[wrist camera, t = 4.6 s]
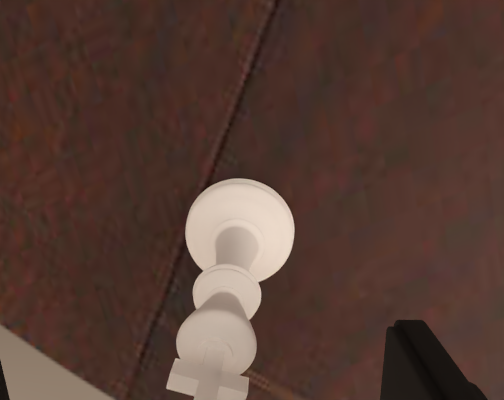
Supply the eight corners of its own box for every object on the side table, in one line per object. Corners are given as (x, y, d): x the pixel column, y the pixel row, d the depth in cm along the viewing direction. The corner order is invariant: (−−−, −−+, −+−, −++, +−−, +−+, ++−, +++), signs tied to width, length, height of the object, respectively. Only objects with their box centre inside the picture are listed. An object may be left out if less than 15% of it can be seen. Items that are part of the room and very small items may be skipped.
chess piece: (201, 164, 16) (97, 272, 6) (308, 196, 16) (367, 347, 7) (176, 263, 17) (61, 474, 8) (276, 290, 18) (284, 531, 8)
